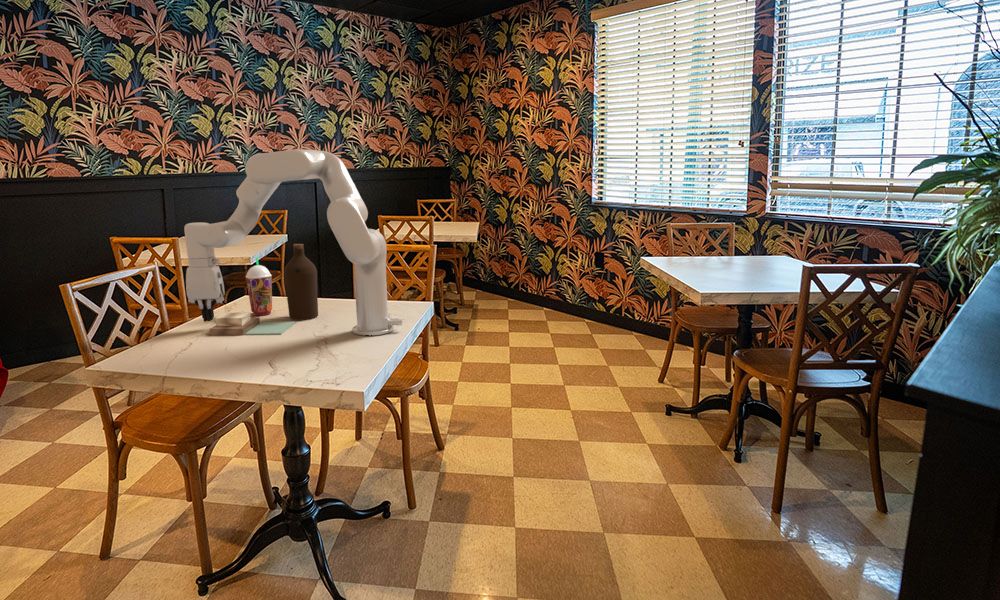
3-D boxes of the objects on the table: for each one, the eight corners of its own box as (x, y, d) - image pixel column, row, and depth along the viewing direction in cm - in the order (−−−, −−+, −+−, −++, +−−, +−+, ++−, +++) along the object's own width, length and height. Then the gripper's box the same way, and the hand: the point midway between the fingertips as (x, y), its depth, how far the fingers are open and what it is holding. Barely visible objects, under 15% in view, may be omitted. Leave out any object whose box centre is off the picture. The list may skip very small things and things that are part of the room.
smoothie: (266, 317, 204) (261, 259, 199) (244, 316, 205) (238, 258, 201) (279, 311, 212) (274, 255, 207) (257, 310, 213) (252, 255, 209)
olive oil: (325, 317, 203) (320, 244, 198) (294, 322, 196) (288, 247, 191) (312, 311, 211) (307, 241, 206) (282, 316, 205) (276, 244, 199)
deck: (260, 323, 196) (259, 317, 195) (243, 334, 182) (242, 328, 182) (229, 323, 196) (228, 317, 195) (210, 335, 182) (209, 328, 181)
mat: (295, 322, 196) (295, 321, 196) (281, 334, 182) (281, 333, 182) (261, 323, 196) (261, 322, 196) (245, 334, 182) (244, 333, 182)
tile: (250, 320, 192) (250, 312, 191) (242, 325, 185) (241, 317, 185) (225, 320, 192) (225, 312, 191) (216, 326, 185) (215, 318, 184)
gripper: (231, 260, 188) (237, 317, 192) (183, 261, 187) (190, 317, 191) (221, 264, 181) (227, 323, 185) (171, 265, 180) (178, 323, 184)
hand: (208, 320), depth 188 cm, fingers closed
